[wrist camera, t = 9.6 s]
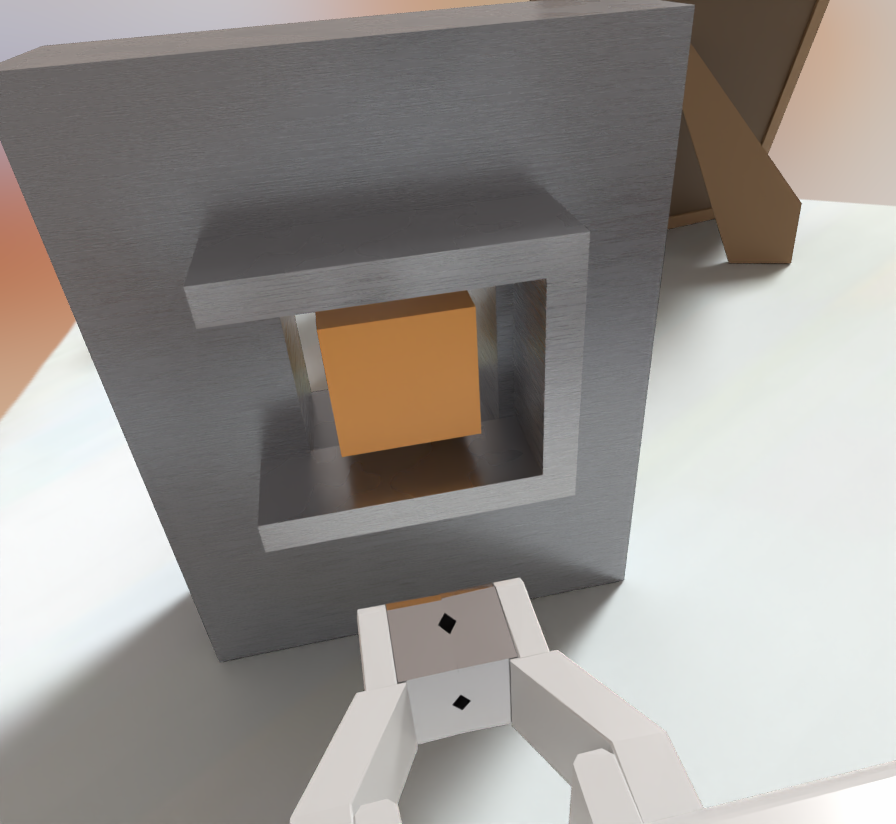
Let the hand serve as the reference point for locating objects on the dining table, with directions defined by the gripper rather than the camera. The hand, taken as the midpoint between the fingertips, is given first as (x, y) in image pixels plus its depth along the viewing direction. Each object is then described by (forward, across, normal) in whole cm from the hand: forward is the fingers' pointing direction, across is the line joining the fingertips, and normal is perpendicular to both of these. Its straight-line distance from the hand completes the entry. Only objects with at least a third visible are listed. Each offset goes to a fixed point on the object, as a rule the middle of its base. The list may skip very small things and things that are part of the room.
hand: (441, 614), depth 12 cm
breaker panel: (+10, 0, -12) cm, 16 cm away
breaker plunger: (+12, 0, -2) cm, 12 cm away
